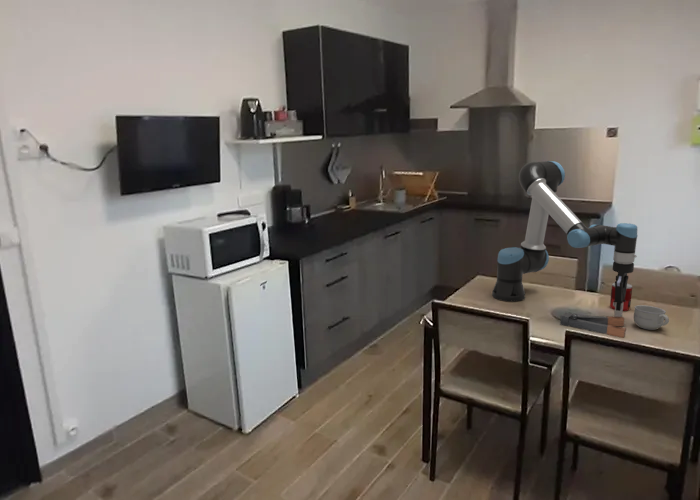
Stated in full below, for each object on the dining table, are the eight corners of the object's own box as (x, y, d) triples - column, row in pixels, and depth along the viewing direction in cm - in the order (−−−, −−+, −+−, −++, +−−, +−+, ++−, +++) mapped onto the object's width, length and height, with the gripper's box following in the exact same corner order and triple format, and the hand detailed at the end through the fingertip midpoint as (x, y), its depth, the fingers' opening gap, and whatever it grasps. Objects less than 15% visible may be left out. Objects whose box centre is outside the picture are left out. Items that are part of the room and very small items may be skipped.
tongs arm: (571, 325, 206) (572, 315, 205) (569, 322, 210) (569, 312, 209) (624, 327, 203) (625, 317, 202) (621, 324, 207) (622, 314, 206)
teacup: (626, 323, 209) (628, 304, 207) (651, 321, 209) (653, 303, 208) (649, 336, 195) (651, 316, 193) (675, 334, 196) (678, 315, 194)
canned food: (632, 311, 221) (635, 287, 219) (612, 310, 223) (615, 286, 221) (626, 306, 229) (629, 282, 226) (607, 305, 230) (609, 282, 228)
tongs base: (560, 324, 208) (560, 315, 207) (564, 320, 212) (565, 312, 211) (623, 337, 193) (624, 328, 193) (626, 333, 198) (627, 324, 197)
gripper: (630, 266, 198) (624, 323, 203) (637, 260, 208) (631, 314, 213) (609, 263, 202) (604, 319, 207) (617, 257, 212) (611, 311, 217)
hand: (618, 317), depth 210 cm, fingers closed
